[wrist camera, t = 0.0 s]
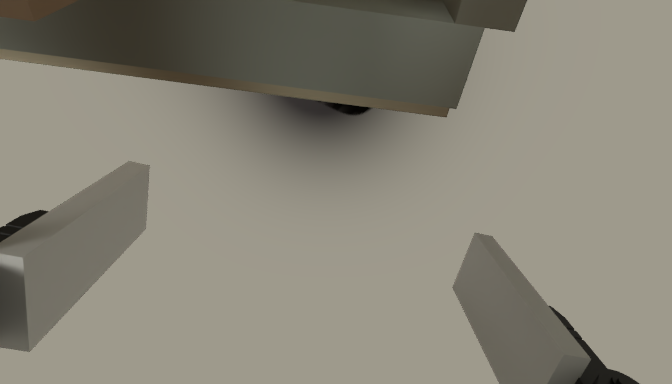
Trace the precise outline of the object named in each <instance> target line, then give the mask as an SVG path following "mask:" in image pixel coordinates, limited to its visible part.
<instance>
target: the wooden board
mask: <svg viewBox="0 0 672 384" xmlns="http://www.w3.org/2000/svg"><path fill="white" fill-rule="evenodd" d="M526 1H527V0H78V1H76V2H74V3H72V4H69V5H67V6H65V7H63V8H61V9H59V10H57V11H55V12H53V13H51V14H49V15H47V16H45V17H43V18H41V19H39V20H37V21H28V20H21V19H13V18H6V17H0V59H5V60H13V61H21V62H29V63H36V64H43V65H52V66H59V67H66V68H74V69H82V70H90V71H97V72H104V73H112V74H120V75H128V76H135V77H142V78H150V79H158V80H166V81H173V82H181V83H188V84H196V85H204V86H211V87H219V88H226V89H234V90H242V91H249V92H257V93H264V94H272V95H280V96H288V97H295V98H302V99H310V100H318V101H325V102H333V103H341V104H348V105H356V106H363V107H371V108H379V109H387V110H395V111H402V112H409V113H417V114H424V115H432V116H440V117H447V114H448V111H449V108H454V109H456V108H457V106H458V103H459V100H460V97H461V94H462V91H463V88H464V85H465V83H466V80H467V77H468V74H469V71H470V68H471V65H472V63H473V60H474V57H475V54H476V51H477V48H478V46H479V43H480V40H481V37H482V34H483V31H484V28H490V29H498V30H505V31H512V32H515V29H516V27H517V24H518V22H519V19H520V17H521V14H522V12H523V9H524V7H525V4H526Z"/></svg>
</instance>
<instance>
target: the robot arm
mask: <svg viewBox="0 0 672 384" xmlns="http://www.w3.org/2000/svg"><path fill="white" fill-rule="evenodd" d="M148 183H149V165H144V164H140V163H135V162H131V161H128V162H127V163H125V164H124V165H122V166H120V167H119V168H117V169H116V170H114V171H113V172H111V173H109V174H108V175H106V176H105V177H103V178H101V179H100V180H98V181H97V182H95V183H94V184H92V185H90V186H89V187H87V188H86V189H84V190H83V191H81V192H79V193H78V194H76V195H75V196H73V197H71V198H70V199H68V200H67V201H65V202H63V203H62V204H60V205H59V206H57V207H55V208H54V209H52V210H51V211H49V212H48V211H43V210H39V211H35V212H32V213H28V214H25V215H22V216H20V217H18V218H16V219H14V220H13V221H11V222H9V223H8V224H6V226H3V227H1V228H0V347H2V348H8V349H15V350H21V351H27V352H30V351H31V350H32V349H33V348H34V347H35V345H36V344H37V343H38V342H39V341H40V340H41V339H42V338H43V337H44V336H45V335H46V334H47V333H48V332H49V331H50V330H51V329H52V328H53V326H54V325H55V324H56V323H57V322H58V321H59V320H60V319H61V318H62V317H63V316H64V315H65V314H66V313H67V312H68V310H70V308H71V307H72V306H73V305H74V304H75V303H76V302H77V301H78V300H79V299H80V298H81V297H82V296H83V295H84V294H85V292H87V291H88V289H89V288H90V287H91V286H92V285H93V284H94V283H95V282H96V281H97V280H98V279H99V278H100V277H101V276H102V275H103V274H104V272H105V271H106V270H107V269H108V268H109V267H110V266H111V265H112V264H113V263H114V262H115V261H116V260H117V259H118V258H119V257H120V256H121V254H122V253H123V252H124V251H125V250H126V249H127V248H128V247H129V246H130V245H131V244H132V243H133V242H134V241H135V240H136V239H137V238H138V237H139V235H140V234H141V233H142V232H143V231H144V230H145V229H146V217H147V200H148ZM453 290H454V291H455V294H456V296H457V298H458V300H459V301H460V304H461V306H462V308H463V310H464V312H465V314H466V316H467V318H468V320H469V322H470V324H471V326H472V329H473V331H474V333H475V335H476V337H477V339H478V341H479V343H480V345H481V346H482V349H483V351H484V353H485V355H486V357H487V359H488V361H489V363H490V366H491V368H492V369H493V372H494V373H495V376H496V378H497V380H498V382H499V384H639V383H638V382H636V381H635V380H633V379H632V378H630V377H628V376H626V375H624V374H622V373H620V372H618V371H614V370H610V369H607V368H606V366H605V365H604V364H603V363H602V362H601V360H600V359H599V358H598V357H597V356H596V354H595V353H594V352H593V351H592V350H591V348H590V347H589V346H588V345H587V344H586V342H585V341H584V340H582V338H581V336H580V335H579V334H578V333H577V332H576V331H574V328H573V327H572V326H571V325H570V323H569V322H568V321H567V320H566V318H565V317H563V316H562V315H561V314H560V313H559V312H557V311H556V310H555V309H554V308H552V307H551V306H548V305H547V304H546V302H545V301H544V300H543V299H542V298H541V296H540V295H539V294H538V293H537V291H536V290H535V289H534V288H533V286H532V285H531V284H530V283H529V281H528V280H527V279H526V278H525V276H524V275H523V274H522V273H521V271H520V270H519V269H518V268H517V267H516V265H515V264H514V263H513V262H512V260H511V259H510V258H509V257H508V255H507V254H506V253H505V252H504V250H503V249H502V248H501V247H500V245H499V244H498V243H497V242H496V241H495V239H494V238H493V237H492V236H489V235H484V234H479V233H474V236H473V238H472V241H471V243H470V246H469V248H468V250H467V253H466V255H465V258H464V260H463V263H462V265H461V268H460V270H459V273H458V275H457V278H456V280H455V282H454V285H453Z"/></svg>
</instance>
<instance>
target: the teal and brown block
mask: <svg viewBox="0 0 672 384" xmlns="http://www.w3.org/2000/svg"><path fill="white" fill-rule="evenodd" d="M76 1H78V0H0V17H6V18H13V19H21V20H28V21H37V20H39V19H41V18H43V17H45V16H47V15H49V14H51V13H53V12H55V11H57V10H59V9H61V8H63V7H65V6H67V5H69V4H72V3H74V2H76Z"/></svg>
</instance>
